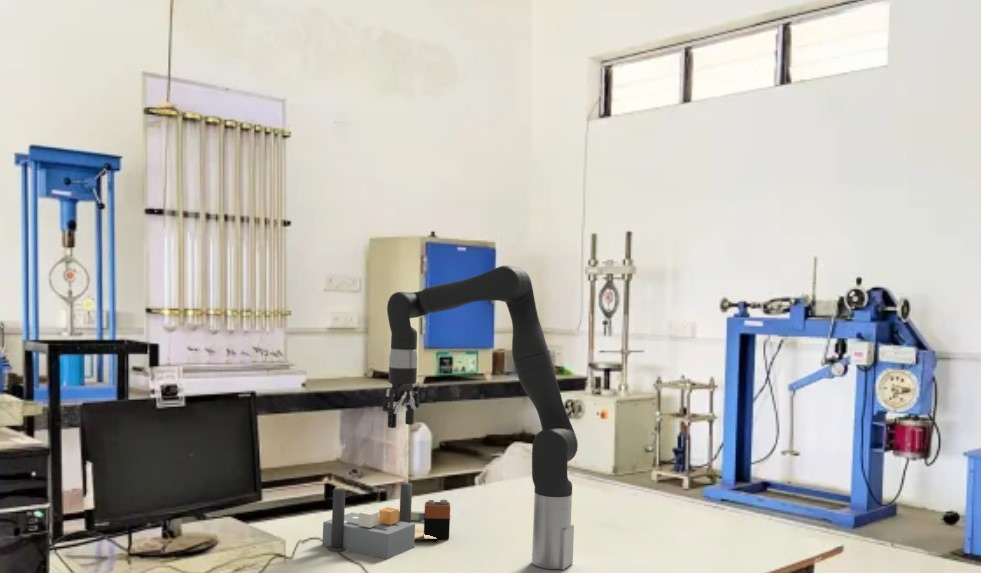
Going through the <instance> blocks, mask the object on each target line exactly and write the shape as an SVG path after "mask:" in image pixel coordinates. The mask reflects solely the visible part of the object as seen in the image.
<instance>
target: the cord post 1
mask: <svg viewBox="0 0 981 573" xmlns="http://www.w3.org/2000/svg"><path fill="white" fill-rule="evenodd" d="M345 505H346V488H342V487H337V488H333V490H332V511H331V512H332V514H331V516H332V517H331V519H332V534H331V545H330V546H328V547H327V550H328V551H329V552H332V553H341V552H345V551H346V550H345V548H343V530H344V515H345V508H346V506H345Z"/></svg>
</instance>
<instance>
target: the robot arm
mask: <svg viewBox="0 0 981 573" xmlns="http://www.w3.org/2000/svg"><path fill="white" fill-rule="evenodd" d="M483 301H485V302H487V301H500V302H502V303H503V302H504V303H505V304H506V306H507V309H508V312H509V315H510V319H511V325H512V340H511V354H512V360H513V363H514V367H515V371H516V374H517V377H518V380H519V383H520V385H521V386H522V387H521V388H523V390H524V392H525V393H526V395H527V397H528V398H529V399H530V401H531V402H532V405H533V406H534V407H535V408H534V409H536V412H537V414H538V415H537V416H538V417H539V421H540V426H541V431H539V432H537V434H536V435H535V437H534V439H533V442H532V446H531V447H532V448H531V477H532V483H533V486H534V497H533V498H534V502H533V523H532V524H533V525H532V551H531V552H532V553H531V556H532V557H531V563H532V565H533V566H535V567H537V568H541V569H547V570H566V569H567V568H569V567H570V566H571V565H573V564H574V563H573V562H574V538H575V535H574V534H575V525H574V524H572V507H573V506H572V503H573V484H572V482H571V481H570V480H569V477H568V463H569V462H570V461H571V460H573V459H574V458H575V456H576V455H577V451H578V446H579V445H578V438H577V436H576V433H575V429H574V428H573V425H572V423H571V420H570V418H569V415H568V413H567V410H566V408H565V407H566V406H565V405H564V402H563V398H562V395H561V391H560V390H561V389H560V386H559V383H558V379H557V376H556V372H555V369H554V365H553V362H552V357H551V355H550V350H549V346H548V344H547V342H546V339H545V335H544V332H543V327H542V325H541V321H540V319H539V315H538V310H537V305H536V300H535V295H534V289H533V284H532V280H531V277H530V276H529V274H528V272H527V271H526V270H525V269H523V268H522V267H519V266H513V265H501V266H497V267H495V268H493V269H491V270H488V271H486V272H484V273H481V274H478V275H476V276H473V277H469V278H466V279H462V280H457V281H451V282H447V283H441V284H436V285H432V286H428V287H425V288H423V289H422V290H419V291H414V292H413V291H411V292H409V291H408V292H407V291H406V292H405V291H396V292H394V293H393V294H391V295H390V297H389V298H388V301H387V306H386V307H387V308H386V310H387V319H388V324H389V329H390V331H391V337H390V338H391V339H390V353H389V361H388V362H389V364H388V383H389V384H391V388H385V389H384V390H383V403H382V411H383V412H386V413H387V427H388V428H389V429H390V428H391V429H395V428H397V416H398V414H397V412H398V410H399V409H400V407H402V405H404V408H405V421H404V422H405V423H404V424H405V425H409V426H412V425H414V422H415V421H414V420H415V419H414V417H415V416H414V415H415V411H416V409H417V408H420V386H418V385H414V384H416V383H417V375H418V374H417V373H418V372H417V371H418V351H417V350H418V332H417V330H416V329H415V328H413V327H412V324H411V319H414V318H415V319H416V318H419V317H423V316H427V315H429V314H432V313H433V314H434V313H440V312H444V311H449V310H454V309H457V308H459V307H462V306H465V305H467V304H471V303H475V302H483Z"/></svg>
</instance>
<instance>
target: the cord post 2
mask: <svg viewBox="0 0 981 573" xmlns="http://www.w3.org/2000/svg"><path fill="white" fill-rule="evenodd" d="M399 494H400V496H399V516H398V521H402V522H408V523H412V503H413V502H412V501H413V500H412V498H413V483H411V482H402V483H400V493H399Z"/></svg>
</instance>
